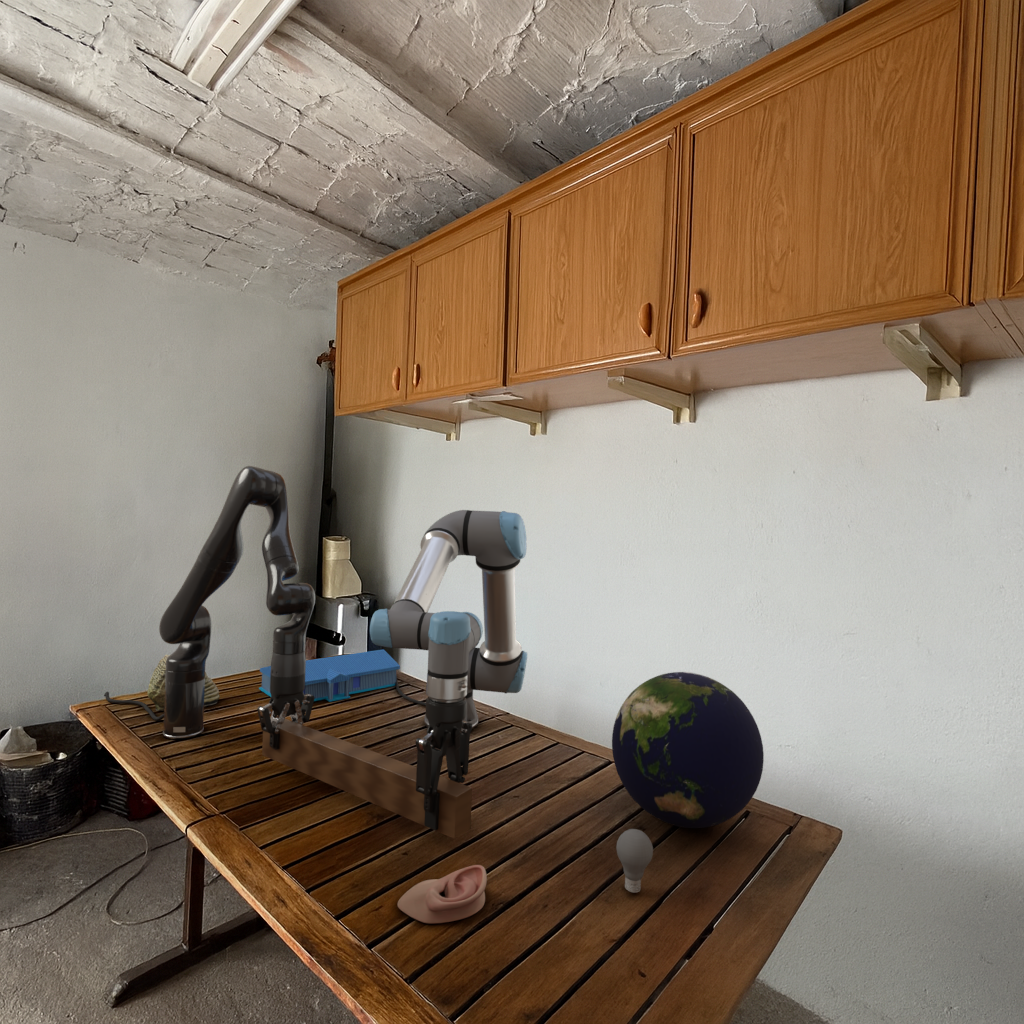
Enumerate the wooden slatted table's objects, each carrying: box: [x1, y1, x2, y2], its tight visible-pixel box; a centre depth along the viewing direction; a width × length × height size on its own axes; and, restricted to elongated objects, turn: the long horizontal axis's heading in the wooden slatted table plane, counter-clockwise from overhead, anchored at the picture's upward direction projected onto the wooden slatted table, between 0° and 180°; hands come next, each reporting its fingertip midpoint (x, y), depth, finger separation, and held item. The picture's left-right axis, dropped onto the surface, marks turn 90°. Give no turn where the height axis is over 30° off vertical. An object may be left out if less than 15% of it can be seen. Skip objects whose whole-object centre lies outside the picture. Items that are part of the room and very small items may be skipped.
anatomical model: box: [396, 864, 488, 925], centre depth 101 cm, size 13×4×12 cm
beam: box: [261, 718, 473, 840], centre depth 131 cm, size 57×5×8 cm, turn 55°
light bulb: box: [615, 828, 654, 894], centre depth 106 cm, size 6×6×10 cm
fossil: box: [147, 654, 221, 712], centre depth 185 cm, size 9×18×15 cm, turn 132°
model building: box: [258, 649, 401, 705], centre depth 208 cm, size 39×24×10 cm, turn 132°
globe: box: [611, 671, 765, 829], centre depth 130 cm, size 30×30×30 cm
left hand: (285, 744), depth 144 cm, fingers closed on beam, 4 cm apart
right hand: (440, 821), depth 118 cm, fingers closed on beam, 5 cm apart
